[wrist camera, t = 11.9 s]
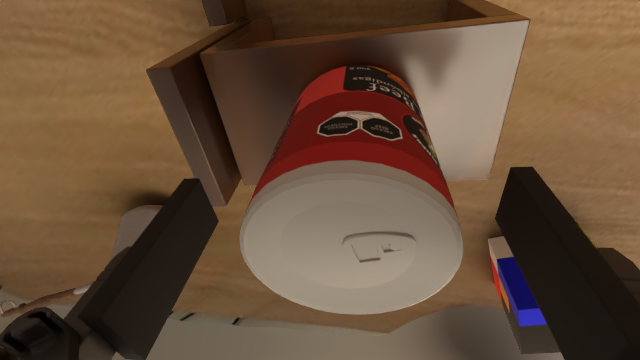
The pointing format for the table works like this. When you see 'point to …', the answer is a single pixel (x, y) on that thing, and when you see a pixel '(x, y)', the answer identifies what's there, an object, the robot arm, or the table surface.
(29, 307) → the coffee pot
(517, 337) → the puzzle toy
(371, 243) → the canned food
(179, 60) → the step shelf
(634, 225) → the table surface
